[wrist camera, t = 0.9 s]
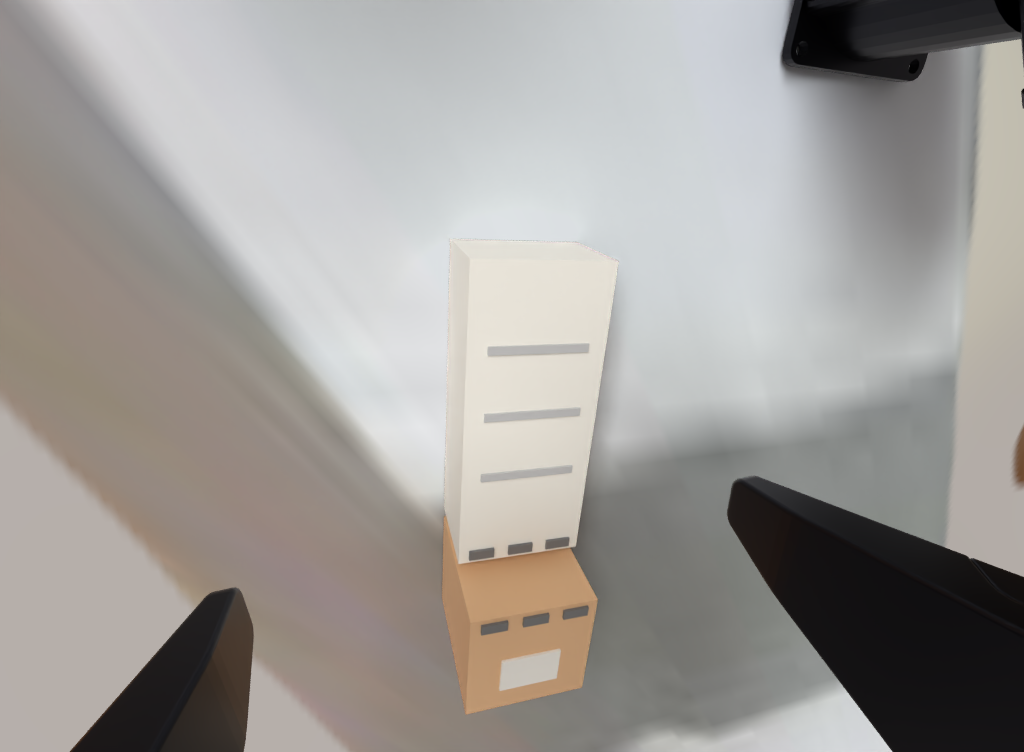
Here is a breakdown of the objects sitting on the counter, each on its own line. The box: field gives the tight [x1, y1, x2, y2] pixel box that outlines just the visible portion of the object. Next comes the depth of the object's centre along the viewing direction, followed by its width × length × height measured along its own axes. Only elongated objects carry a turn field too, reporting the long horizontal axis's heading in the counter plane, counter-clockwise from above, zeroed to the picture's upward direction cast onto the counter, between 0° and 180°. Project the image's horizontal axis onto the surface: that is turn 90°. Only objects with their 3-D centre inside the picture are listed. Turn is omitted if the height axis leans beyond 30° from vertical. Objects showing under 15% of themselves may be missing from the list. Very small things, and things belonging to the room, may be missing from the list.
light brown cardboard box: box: [442, 516, 598, 714], centre depth 23 cm, size 5×5×6 cm
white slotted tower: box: [444, 239, 619, 564], centre depth 20 cm, size 5×12×4 cm, turn 176°
